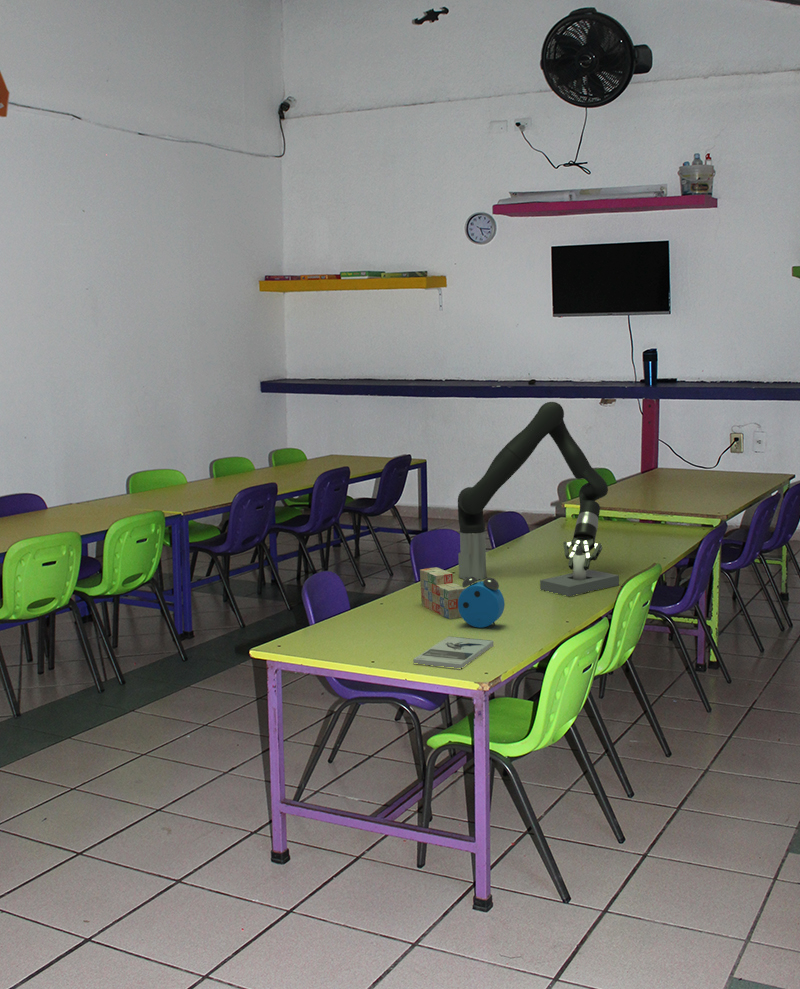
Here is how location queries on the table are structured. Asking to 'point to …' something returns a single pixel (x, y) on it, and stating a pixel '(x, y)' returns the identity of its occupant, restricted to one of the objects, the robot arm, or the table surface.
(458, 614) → the stack of blocks
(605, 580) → the socket plate
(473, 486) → the robot arm
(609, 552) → the table surface
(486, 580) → the alarm clock
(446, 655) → the book
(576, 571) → the plug
